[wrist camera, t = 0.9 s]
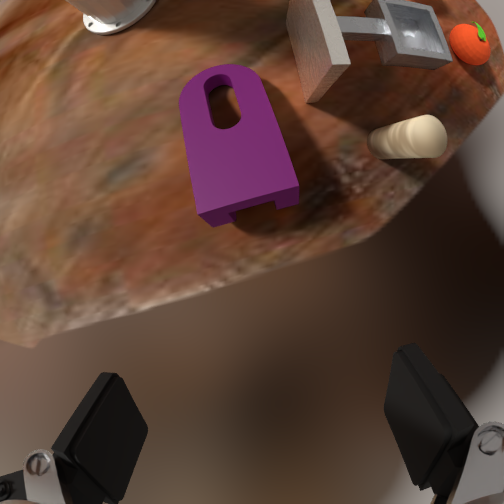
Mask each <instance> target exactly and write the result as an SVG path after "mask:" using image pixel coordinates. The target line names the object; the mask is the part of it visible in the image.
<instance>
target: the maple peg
mask: <svg viewBox="0 0 504 504" xmlns="http://www.w3.org/2000/svg"><path fill="white" fill-rule="evenodd" d="M367 145H368V149H369V151H370V152H371V154H372V155H373V156H375V157H376V158H379V159H398V158H436V157H439V156H441V155H442V154H443V153H444V151H445V149H446V147H447V134H446V131H445V128H444V126H443V125H442V123H441V122H440V121H439V120H438V119H437V118H435V117H434V116H431V115H422V116H419V117H415V118H412V119H408V120H405V121H401V122H398V123H394V124H391V125H388V126H384V127H381V128H378V129H375V130H373V131H372V132H371V133H370V134H369V136H368V139H367Z"/></svg>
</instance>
